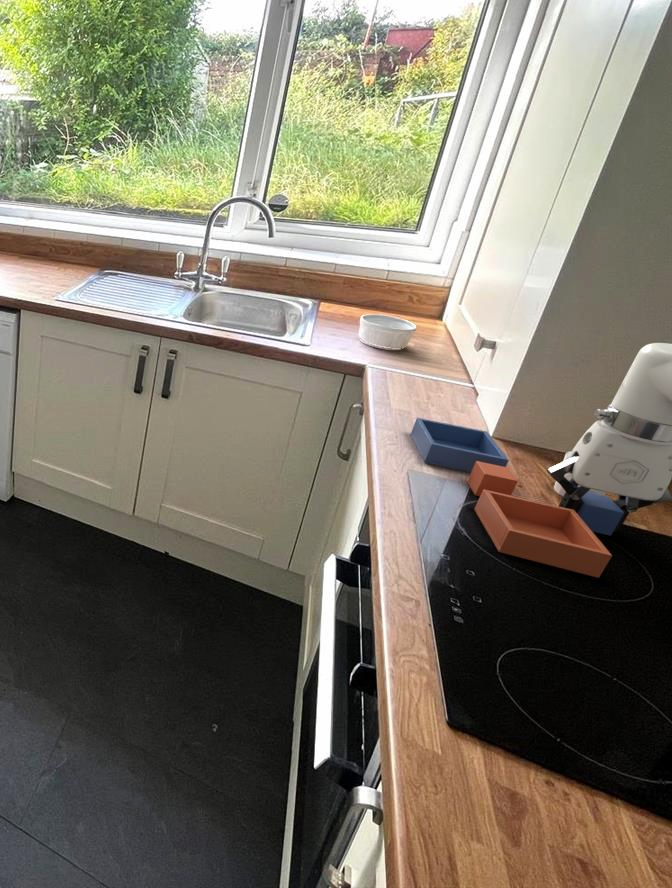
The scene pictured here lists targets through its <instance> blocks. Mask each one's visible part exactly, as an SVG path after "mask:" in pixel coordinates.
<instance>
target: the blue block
mask: <svg viewBox="0 0 672 888" xmlns="http://www.w3.org/2000/svg"><path fill="white" fill-rule="evenodd" d="M580 500H581V501H582V503H583V504H582V506H581V508H580V509H579V511H578V513H577V514H578V515H579V516H580V518H581V519H582V520H583V521H584V522H585V524H586V525H587V526H588V527H589V528H590V530H591V531H592V532H593V533H597V534H602V535H604V536H605V535H607V536H610V537H611V536H612V534H613V533H614V532H613V531H614V529H615V528H616V526H617V524H618V522H619V521H620V519H621V517H622V516H623V514H624V512H623V511H622V510H621V509H620V508H619V507H618V506H617V505H616V504H615V503H614V502H613V501H612V499H611V497H610V496H606V495H604V496H602V495H597V494H592V493H588V492H587V493H586V494H585V495H584V496H583V497H582V498H581V499H580Z"/></svg>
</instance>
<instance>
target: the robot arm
mask: <svg viewBox="0 0 672 888" xmlns="http://www.w3.org/2000/svg"><path fill="white" fill-rule="evenodd" d="M593 416H594V417H595V418H599V419H601V420H596V421H595V422H594V423H593V424H592V425H591V426H590V427H589V428H588V429H587V430H585V433H584V434H583V435H582V436H581V437H580V439H579V440H578V441H577V443H576V444H575V445H574V447H573V449H572V450H571V451H572V452H571V454H570V455H569V457H568V459H567V460H566V461H564V462H563V461H561V462H560V463H557V464H556V465H553V466H550V467H549V468H547V470H546V472H547V474H549V476H550V477H551V478H552V479H554V480H555V482H556V481H557V482H558V483H559V484H560V485H561V486H562V488H563V489H564V490H565V491H566V493H565V495H564V496H562V498H561V500H560V502H559V504H558V506H559V507H563V508H568V509H572V510H575V512H576V513H578V511H579V509H580V508H581V506H582V504H583V503H582V501H581V500H580V499H581V498H582V497H583V496H584V495H585V494H586V493H587V492H588V491H589V490H590V489H594V490H599V491H603V492H607V493H608V494H614V495H617V496H616V497H617V498H616V500H612V499H611V500H612V501H613V502H614V503H615V504H616V505H617V506H618V507H619V508H620V509H621V510H622V511H623V512H624V514H623V516H622V517H621V519H620V521H619V522H618V524H617V526H616V528H615V529H614V531H613V533H617V531H618V529H619V528H620V527H621V526H623V525H624V523H625V521H626V520H627V518H628V516H629V515H630V513H636V512H637V511H638V510H639V509H642V508H646V507H649V506H652V505H653V504H660V503H667V502H670V501H672V495H671V493H670V491H669V489H668V487H669V485H670V483H671V481H672V343H667V342H652V343H648V344H646V345H644V346H643V347H641V348H640V349H639V351H638V352H637V354H636V356H635V357H634V360H633V362H632V364H631V365H630V367H629V369H628V371H627V373H626V375H625V376H624V379H623V381H622V383H621V384H620V386H619V387H618V390H617V392H616V394H615V396H614V398H613V399H612V402H611V403H610V404H608V406H607V407H606V409H605V408H603V409H601V408H596V409H595V410H594V413H593ZM567 473H570V474H572V479H571V480H570V481H569V480H568V479H567V478H566V477H565V476H564V475H565V474H567Z"/></svg>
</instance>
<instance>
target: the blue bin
mask: <svg viewBox="0 0 672 888" xmlns="http://www.w3.org/2000/svg"><path fill="white" fill-rule="evenodd" d="M409 435H410V437H411V439H412V441H413V443H414V445H415V447H416V449H417V451H418V453H419V455H420V458H422V461H423V463H426V464H430V465H434V466H439V467H445V468H449V469H452V470H457V471H462V472H466V473H470V474H471V472H472V469H473V467H474V465H475V463H476V461H479V462H484V463H488V464H493V465H498V466H502V467H507V466H508V463H509V461H510V460H509V458H508V457H507V456H506V454H505V453H504V452H503V450H502V449H501V447H499V445H498V444H497V443H496V441H495V440H494V439H493V437H492V435H490V433H489V431H486V430H481V429H478V428H477V429H476V428H472V427H466V426H462V425H457V424H451V423H446V422H441V421H436V420H430V419H425V418H421V417H416V419H415V422H414V424H413V427H412V430H411V431H410V434H409Z"/></svg>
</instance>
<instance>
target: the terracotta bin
mask: <svg viewBox="0 0 672 888" xmlns="http://www.w3.org/2000/svg"><path fill="white" fill-rule="evenodd" d="M473 510H474V511H475V513H476V516H477V517H478V518H479V521H480V522H481V524H482V525H483V527H484V529H485V530H486V531H485V532H487V534H488V537H490V539H491V541H492V543H493V544H494V546H495V548H496V549H497V551H498V552H499V553H502V554H506V555H509V556H513V557H516V558H520V559H525V560H528V561H533V562H536V563H540V564H543V565H546V566H547V565H548V566H552V567H555V568H559V569H563V570H566V571H572V572H574V573H578V574H582V575H586V576H589V577H594V578H598V579H599V578H600V577H601V575H602V573H603V572H604V570H605V568H606V567H607V565H608V564H609V562H610V560H611V558H612V557H613V555H612V553H610V551H609V550H608V549H607V548H606V546H605V545H604V544H603V542H602V541H601V540H600V539H599V538H598V537H597V535H596V534H595V532H593V531H591V530H590V528H589V527H588V526H587V525H586V524H585V522H584V521H583V520H582V519H581V518H580V516H579V515H578V514H577V513H576V512H575V510H572V509H568V508H563V507H559V505H554V504H549V503H545V502H541V501H536V500H532V499H527V498H522V497H519V496H514V495H506V494H502V493H498V492H493V491H489V490H483V492H482V494H481V496H479V498H478V501H477V502H476V505H475V507H474V509H473Z"/></svg>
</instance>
